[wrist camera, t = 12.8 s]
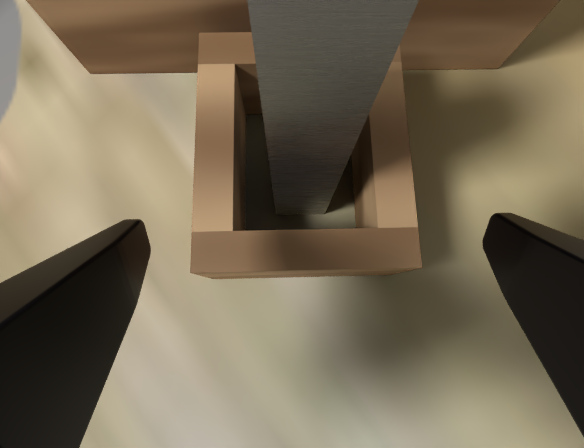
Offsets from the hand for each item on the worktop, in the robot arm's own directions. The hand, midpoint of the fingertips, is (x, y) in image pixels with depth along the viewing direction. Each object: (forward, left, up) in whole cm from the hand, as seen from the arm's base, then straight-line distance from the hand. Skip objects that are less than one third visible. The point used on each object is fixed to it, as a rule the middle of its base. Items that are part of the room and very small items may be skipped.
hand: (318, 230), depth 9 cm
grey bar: (+4, 0, -8) cm, 9 cm away
